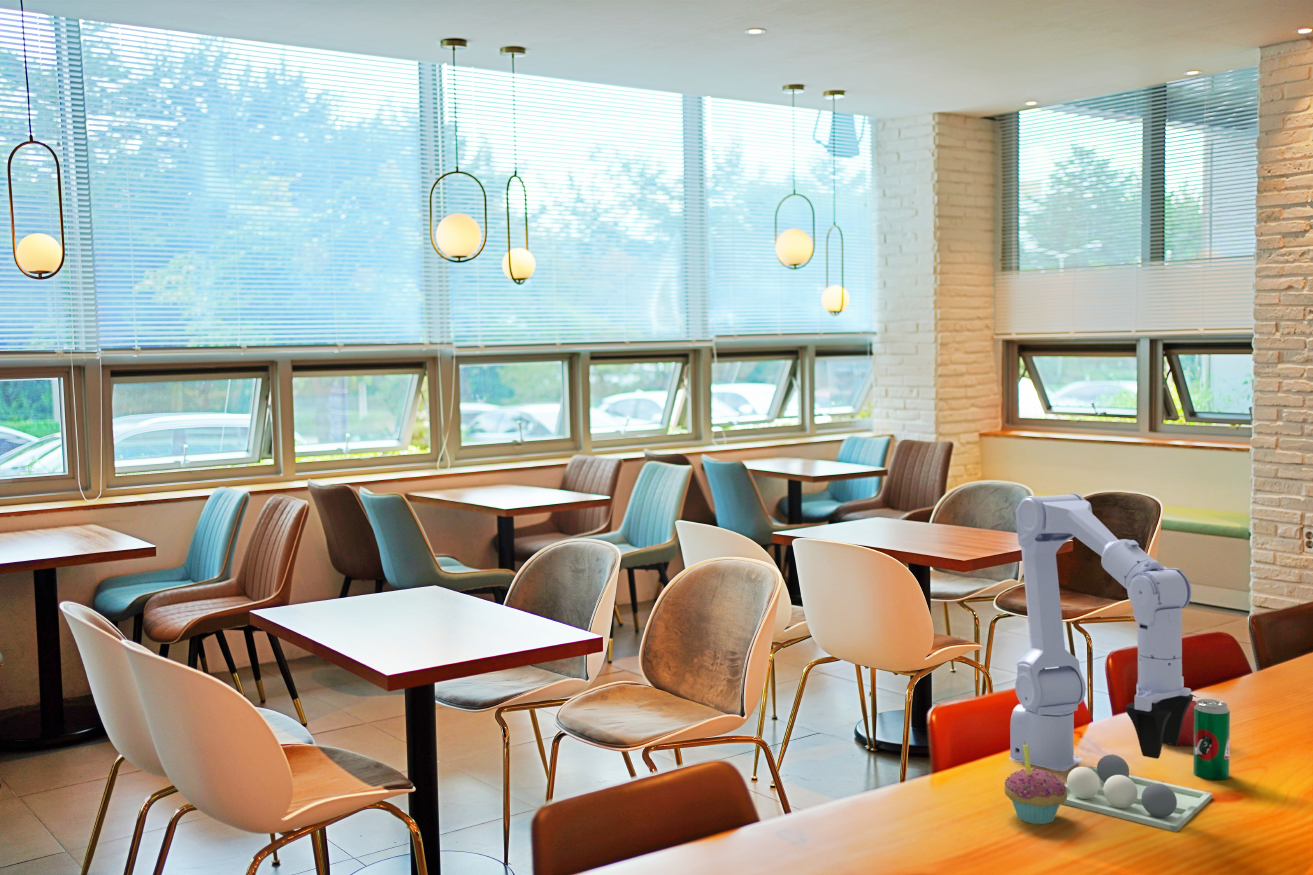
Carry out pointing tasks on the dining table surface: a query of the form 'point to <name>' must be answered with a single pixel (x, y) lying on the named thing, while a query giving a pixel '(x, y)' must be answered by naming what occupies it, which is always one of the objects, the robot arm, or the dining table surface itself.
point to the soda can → (1211, 740)
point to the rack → (1185, 809)
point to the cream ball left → (1083, 782)
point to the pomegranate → (1188, 726)
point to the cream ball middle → (1120, 791)
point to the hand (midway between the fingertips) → (1160, 749)
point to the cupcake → (1035, 793)
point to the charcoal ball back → (1112, 767)
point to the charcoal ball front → (1159, 800)
